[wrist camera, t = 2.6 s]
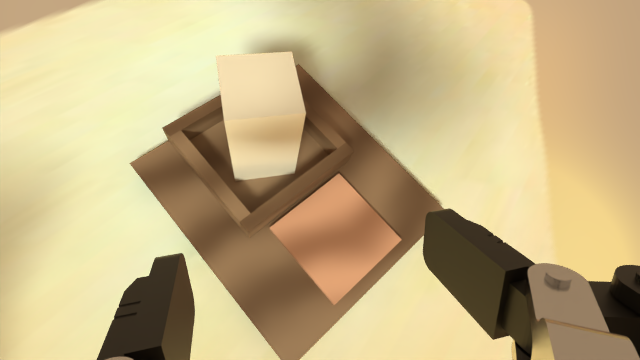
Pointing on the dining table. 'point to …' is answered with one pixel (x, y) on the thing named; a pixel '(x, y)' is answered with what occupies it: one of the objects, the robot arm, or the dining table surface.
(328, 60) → the dining table surface
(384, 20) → the dining table surface
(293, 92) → the cream block
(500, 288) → the robot arm
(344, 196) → the puzzle board
